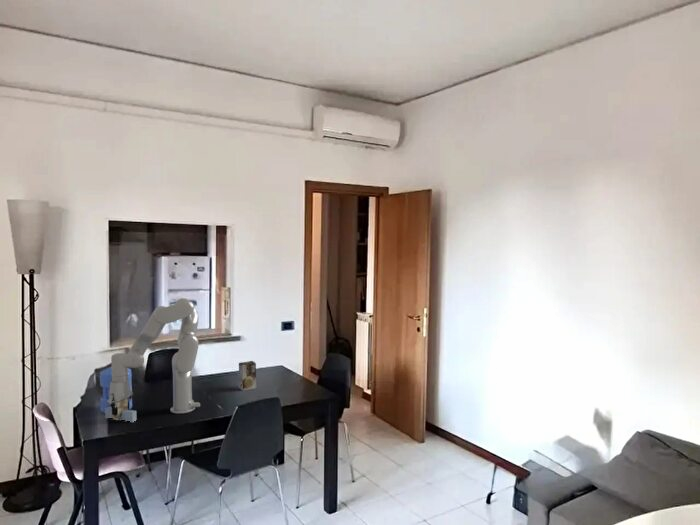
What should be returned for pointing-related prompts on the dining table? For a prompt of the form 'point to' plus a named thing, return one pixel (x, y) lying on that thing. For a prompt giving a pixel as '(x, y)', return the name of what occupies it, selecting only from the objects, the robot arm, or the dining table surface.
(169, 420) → the dining table surface
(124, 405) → the notched wooden block
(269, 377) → the dining table surface
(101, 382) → the water jug
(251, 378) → the coffee box
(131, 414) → the plain gray rectangular bar
